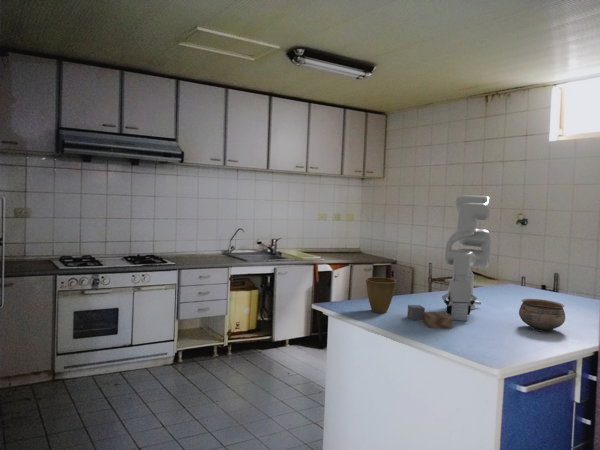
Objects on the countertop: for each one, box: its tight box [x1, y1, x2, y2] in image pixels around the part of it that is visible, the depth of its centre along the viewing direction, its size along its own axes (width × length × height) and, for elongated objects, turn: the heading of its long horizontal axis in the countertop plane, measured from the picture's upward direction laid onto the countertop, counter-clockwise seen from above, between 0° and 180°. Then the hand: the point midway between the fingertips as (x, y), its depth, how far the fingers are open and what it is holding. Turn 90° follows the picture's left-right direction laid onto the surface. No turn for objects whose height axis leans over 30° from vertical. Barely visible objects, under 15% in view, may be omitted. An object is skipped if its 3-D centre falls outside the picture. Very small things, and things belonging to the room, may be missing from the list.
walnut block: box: [422, 311, 453, 330], centre depth 217 cm, size 10×10×5 cm
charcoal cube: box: [406, 304, 426, 322], centre depth 227 cm, size 6×6×6 cm
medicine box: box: [448, 302, 469, 322], centre depth 230 cm, size 8×4×9 cm, turn 85°
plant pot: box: [365, 276, 397, 314], centre depth 238 cm, size 15×15×16 cm
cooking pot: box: [518, 298, 566, 332], centre depth 218 cm, size 25×19×12 cm
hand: (458, 313), depth 230 cm, fingers closed on medicine box, 8 cm apart
